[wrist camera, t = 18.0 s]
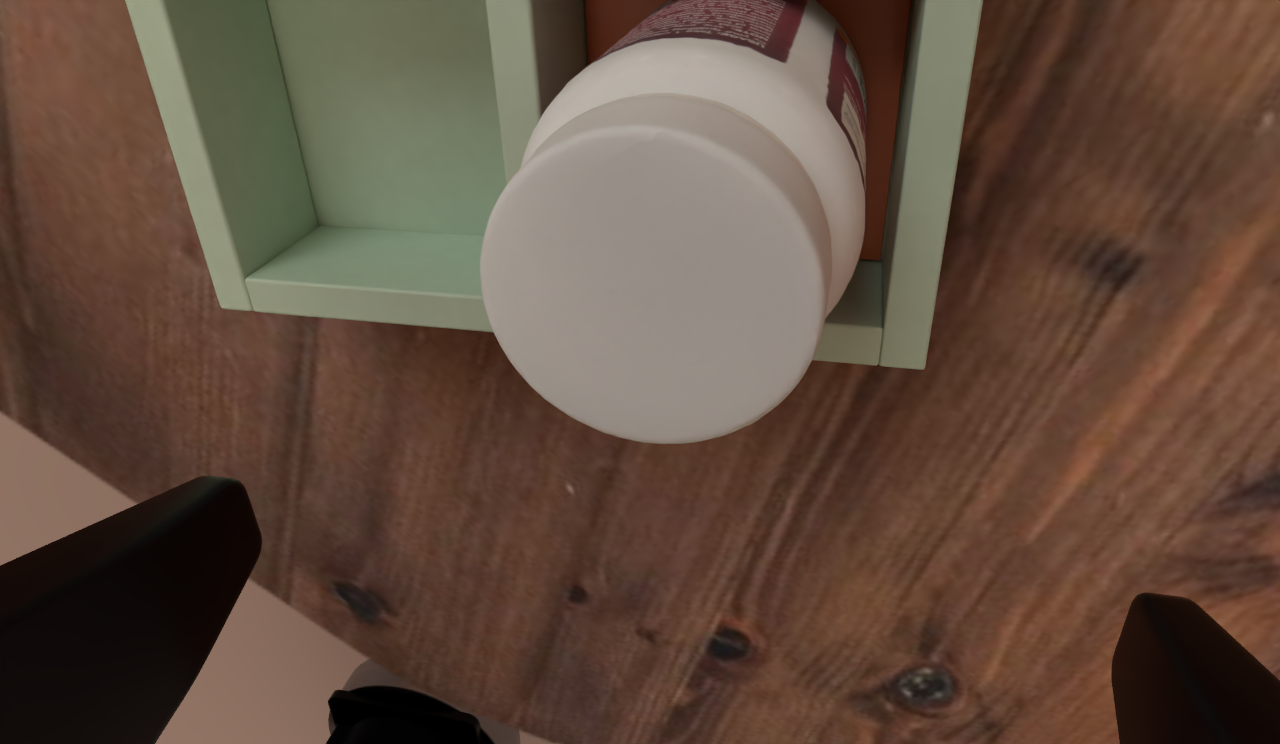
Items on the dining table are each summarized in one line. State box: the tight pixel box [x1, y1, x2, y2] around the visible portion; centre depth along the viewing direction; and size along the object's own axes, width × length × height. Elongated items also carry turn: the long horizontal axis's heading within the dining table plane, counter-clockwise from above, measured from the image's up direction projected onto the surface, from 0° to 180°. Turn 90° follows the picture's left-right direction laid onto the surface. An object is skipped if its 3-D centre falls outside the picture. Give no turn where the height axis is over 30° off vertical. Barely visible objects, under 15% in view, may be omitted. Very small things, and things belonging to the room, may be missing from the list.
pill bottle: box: [480, 0, 867, 444], centre depth 13 cm, size 5×5×8 cm
